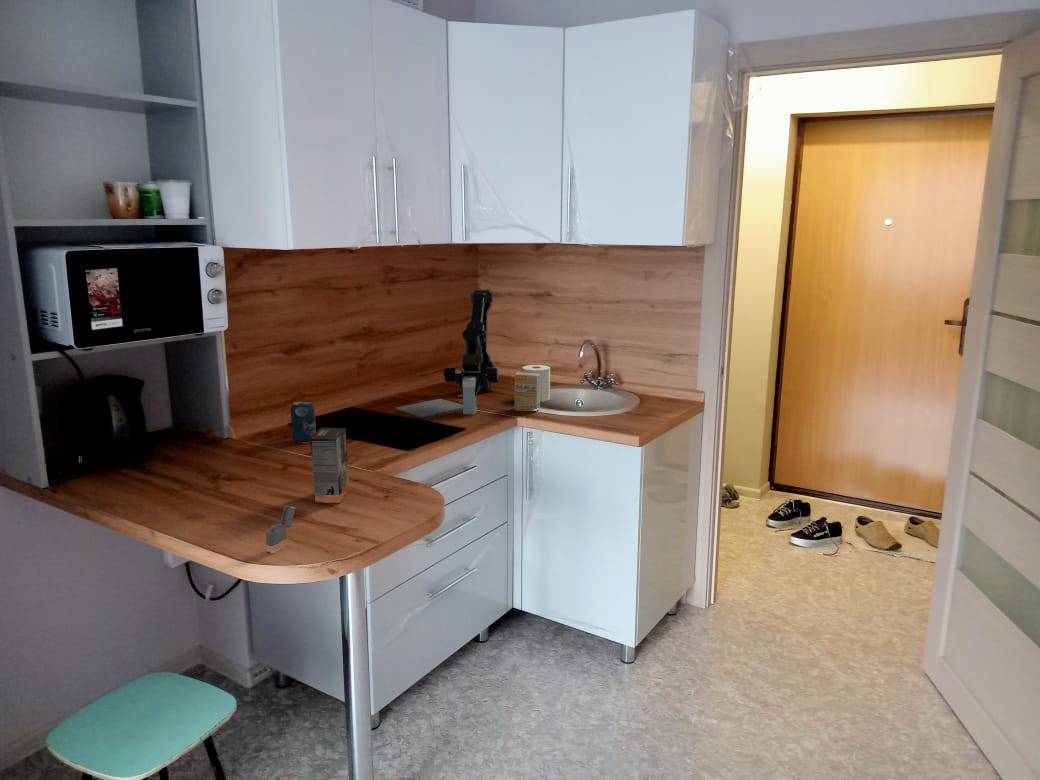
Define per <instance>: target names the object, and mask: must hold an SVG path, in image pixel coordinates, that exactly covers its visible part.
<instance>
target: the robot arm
mask: <svg viewBox="0 0 1040 780" xmlns="http://www.w3.org/2000/svg"><path fill="white" fill-rule="evenodd" d="M469 294H470V299H469V300H470V303H472V310H471V316H470V317H471V318H470V322H468V323H467V324H466V328H465V330H463V332H462V334H461V335H462V336H461V337H462V340H463V341H462V342H463V346H464V348H465V352H464V353H463V354H462V356H461V357H462V361H461V365H462V366H461V367H462V369H463V370H461V369H457V368H456V366H445V367H444V368H443V371H442V372H443V373H442V374H443V378H444V381H445V382H447V383H453V382H455V384H457V385H458V386H459V388H460V392H461V395H462V397H463V379H464V378H476V388H475V396H476V397H477V395H478V394H484V393H491V392H494V389H492V388H491V387H492V386H491V385H492V384H491V383H498V382H499V369H498V368H497V367H495V365H494V364H493V361H492V358H491V355H490V354H489V352H488V349H487V348H488V314H489V311H490V310H491V309H492V307H493V304H492V303H493V302H494V292H491V290H490V289H474V290H473V292H470V293H469Z"/></svg>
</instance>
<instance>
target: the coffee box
mask: <svg viewBox="0 0 1040 780" xmlns="http://www.w3.org/2000/svg"><path fill="white" fill-rule="evenodd" d="M310 440H311V443H310V451H311V452H310V453H311V468H312V470H311V471H312V484H313V497H314V496H323V495H340V494H341V493H342V491H343V490H344V488H345V487H346V486H347V484H348V482H349V483H350V481H349V480H350V479H349V478H350V477H349V461H348V446H347V445H348V444H347V429H346V428H341V427H340V428H338V427H320V428H319V429H318V430H316V433H315V434H314V435H313V436H312V437H311V438H310Z"/></svg>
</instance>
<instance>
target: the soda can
mask: <svg viewBox="0 0 1040 780" xmlns="http://www.w3.org/2000/svg"><path fill="white" fill-rule="evenodd" d="M315 409H316V408H315V405H314V404H313V401H312V400H307V399H306V400H305V399H304V400H302V399H301V400H296V401H293V402H292V404H291V406H290V421H291V435H292V437H291V438H292V439H293V441H294V442H295V441H296V442H310V441H311V440H310V438H311V437H312V436H313V435H314V434H315V433H316V432H317V424H316V412H315V411H316V410H315ZM296 442H295V443H296Z"/></svg>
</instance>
